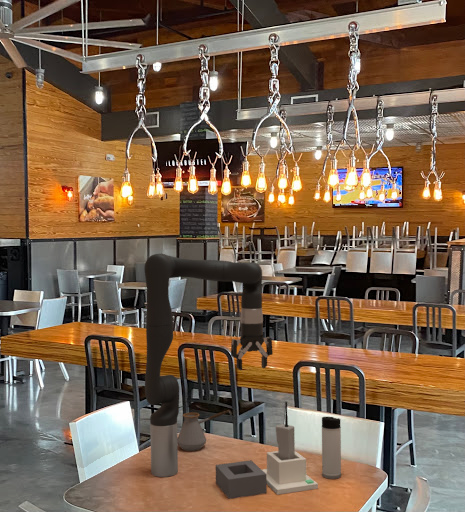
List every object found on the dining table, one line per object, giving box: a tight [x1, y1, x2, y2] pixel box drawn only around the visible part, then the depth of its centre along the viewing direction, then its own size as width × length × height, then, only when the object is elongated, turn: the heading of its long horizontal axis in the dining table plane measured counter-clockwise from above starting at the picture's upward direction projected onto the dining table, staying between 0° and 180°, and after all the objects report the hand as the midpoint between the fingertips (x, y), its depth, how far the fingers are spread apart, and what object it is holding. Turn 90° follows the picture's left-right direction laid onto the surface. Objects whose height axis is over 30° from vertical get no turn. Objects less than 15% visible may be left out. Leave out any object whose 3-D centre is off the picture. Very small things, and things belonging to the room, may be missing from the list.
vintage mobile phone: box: [275, 401, 296, 461], centre depth 203 cm, size 4×5×25 cm
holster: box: [215, 459, 268, 500], centre depth 198 cm, size 14×12×6 cm
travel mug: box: [321, 416, 342, 480], centre depth 207 cm, size 6×7×20 cm
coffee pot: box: [177, 409, 232, 452], centre depth 237 cm, size 21×12×15 cm, turn 83°
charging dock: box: [261, 450, 319, 496], centre depth 203 cm, size 18×14×8 cm
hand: (251, 368), depth 209 cm, fingers open, 8 cm apart
